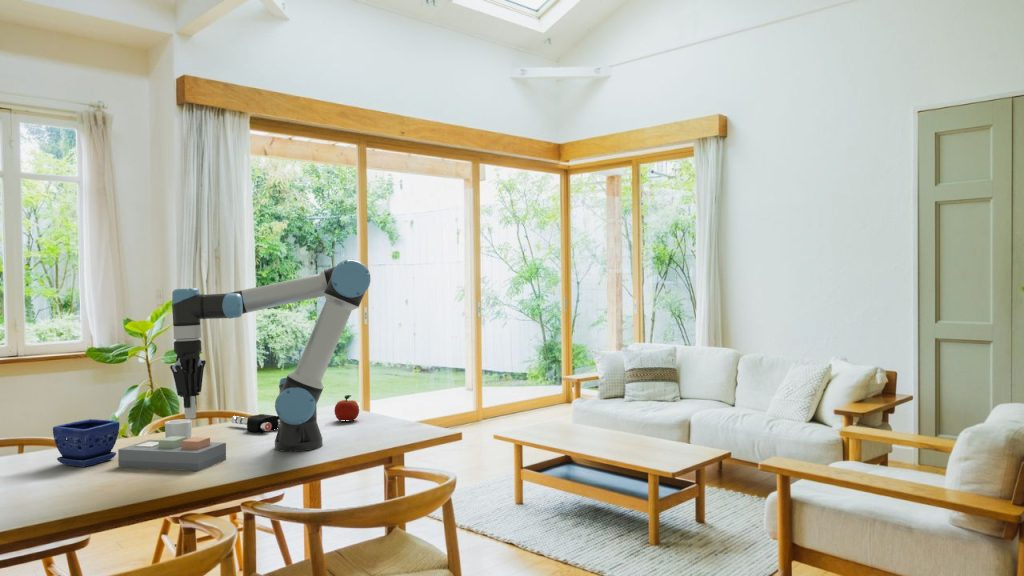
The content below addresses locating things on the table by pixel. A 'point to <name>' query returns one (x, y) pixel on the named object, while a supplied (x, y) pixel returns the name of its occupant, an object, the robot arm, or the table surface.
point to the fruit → (346, 409)
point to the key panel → (172, 465)
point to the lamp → (258, 422)
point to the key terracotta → (196, 443)
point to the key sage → (171, 442)
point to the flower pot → (86, 441)
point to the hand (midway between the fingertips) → (190, 417)
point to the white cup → (178, 428)
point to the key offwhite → (148, 444)
